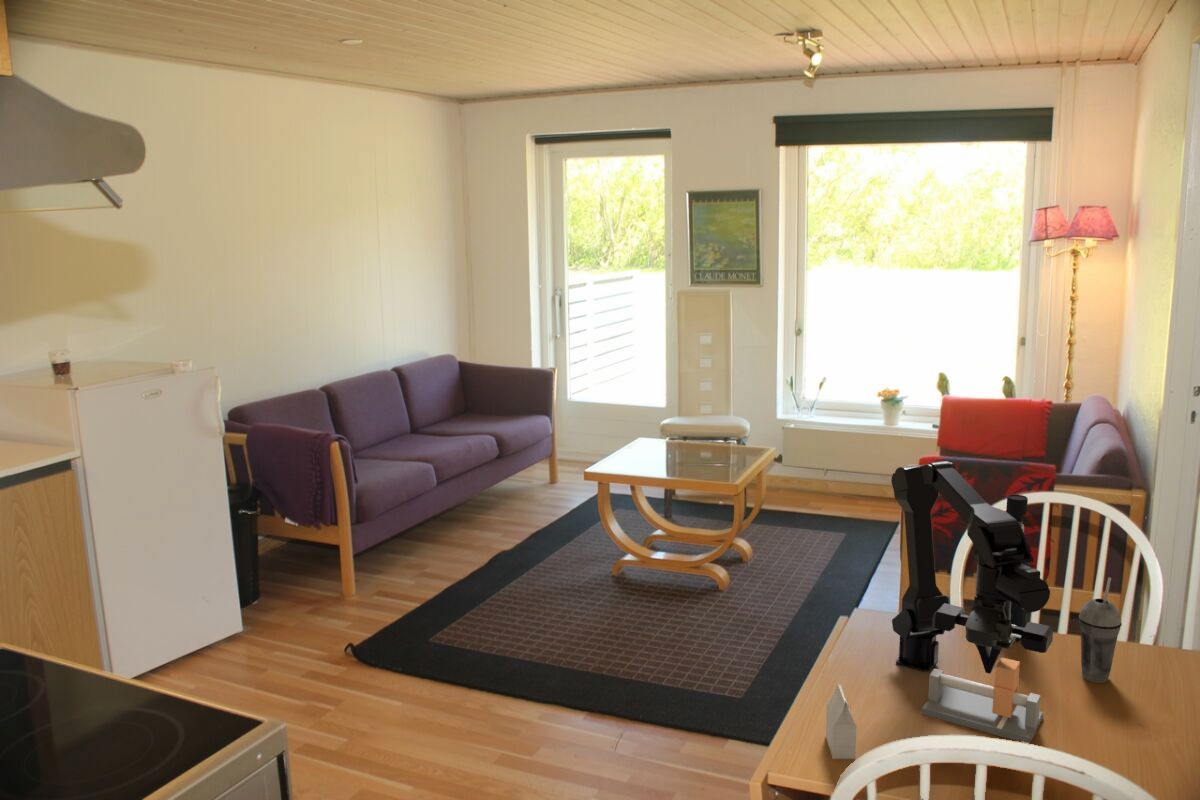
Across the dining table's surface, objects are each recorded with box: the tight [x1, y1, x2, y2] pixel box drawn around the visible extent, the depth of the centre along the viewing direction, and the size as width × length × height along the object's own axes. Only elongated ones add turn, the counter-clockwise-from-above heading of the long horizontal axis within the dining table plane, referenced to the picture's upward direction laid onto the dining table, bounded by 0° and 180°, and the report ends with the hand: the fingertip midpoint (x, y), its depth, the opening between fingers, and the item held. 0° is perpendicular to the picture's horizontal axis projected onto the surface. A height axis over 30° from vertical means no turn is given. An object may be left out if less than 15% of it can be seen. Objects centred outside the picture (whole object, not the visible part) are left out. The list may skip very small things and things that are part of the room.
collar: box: [992, 657, 1021, 718], centre depth 169 cm, size 3×5×8 cm, turn 145°
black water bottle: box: [999, 493, 1030, 642], centre depth 200 cm, size 6×6×30 cm
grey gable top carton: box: [825, 683, 857, 760], centre depth 163 cm, size 4×7×10 cm, turn 176°
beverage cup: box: [1078, 576, 1122, 684], centre depth 183 cm, size 7×7×20 cm
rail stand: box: [921, 668, 1044, 744], centre depth 172 cm, size 18×10×6 cm, turn 55°
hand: (988, 672), depth 170 cm, fingers closed
